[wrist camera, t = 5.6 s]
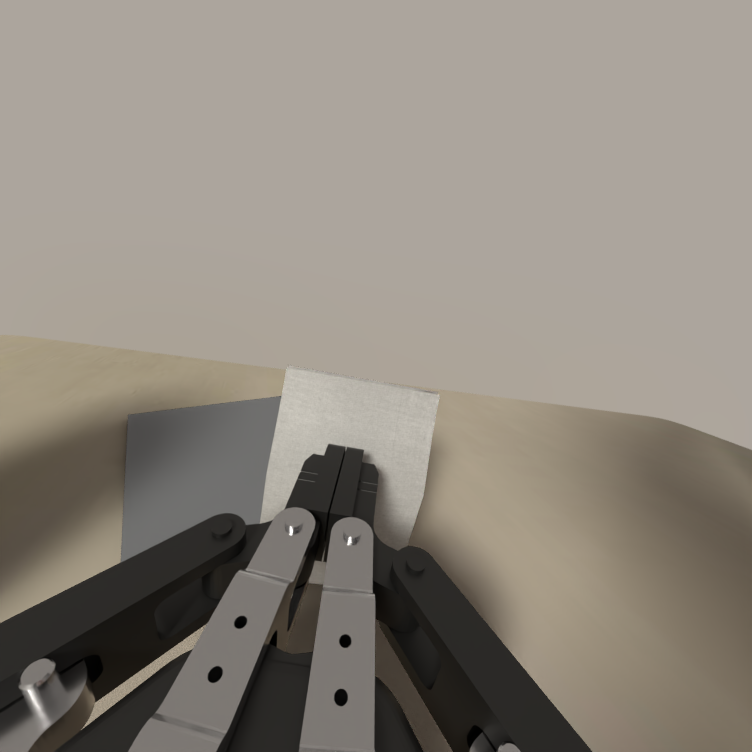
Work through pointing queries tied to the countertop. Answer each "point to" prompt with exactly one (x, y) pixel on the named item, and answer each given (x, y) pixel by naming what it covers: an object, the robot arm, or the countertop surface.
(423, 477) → the tea packet
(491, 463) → the countertop surface
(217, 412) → the mat
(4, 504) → the countertop surface
